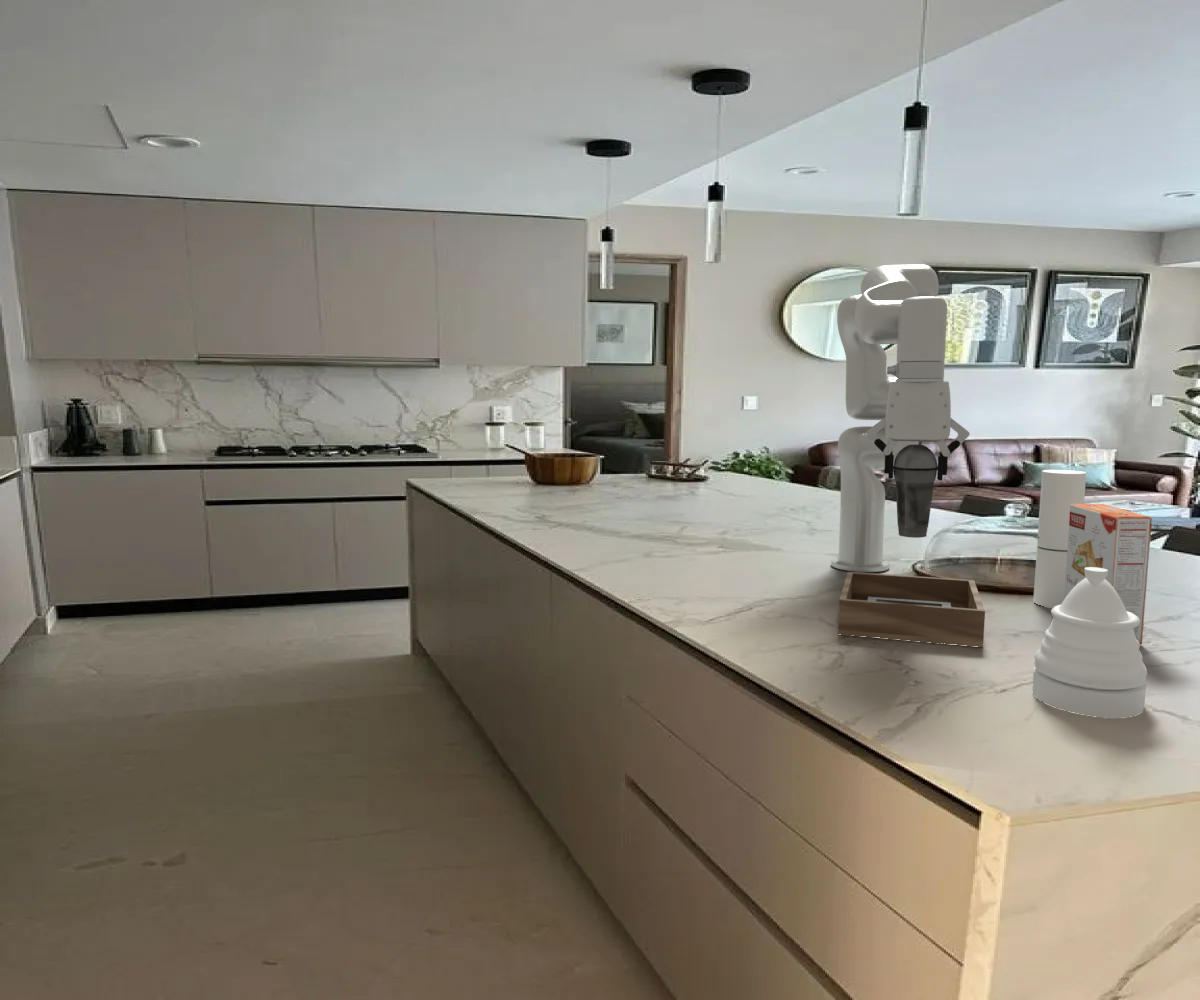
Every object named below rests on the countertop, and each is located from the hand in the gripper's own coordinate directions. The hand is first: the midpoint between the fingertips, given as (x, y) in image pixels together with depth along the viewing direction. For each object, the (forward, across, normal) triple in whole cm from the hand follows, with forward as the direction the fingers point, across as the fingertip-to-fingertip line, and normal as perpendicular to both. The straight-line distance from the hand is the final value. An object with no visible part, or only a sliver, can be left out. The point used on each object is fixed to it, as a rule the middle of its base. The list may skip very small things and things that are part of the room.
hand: (914, 478), depth 144 cm
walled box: (+25, 0, 0) cm, 25 cm away
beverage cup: (+10, 0, 0) cm, 10 cm away
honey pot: (+26, +22, -30) cm, 45 cm away
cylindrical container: (+26, +26, +22) cm, 43 cm away
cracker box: (+26, +30, +4) cm, 40 cm away
